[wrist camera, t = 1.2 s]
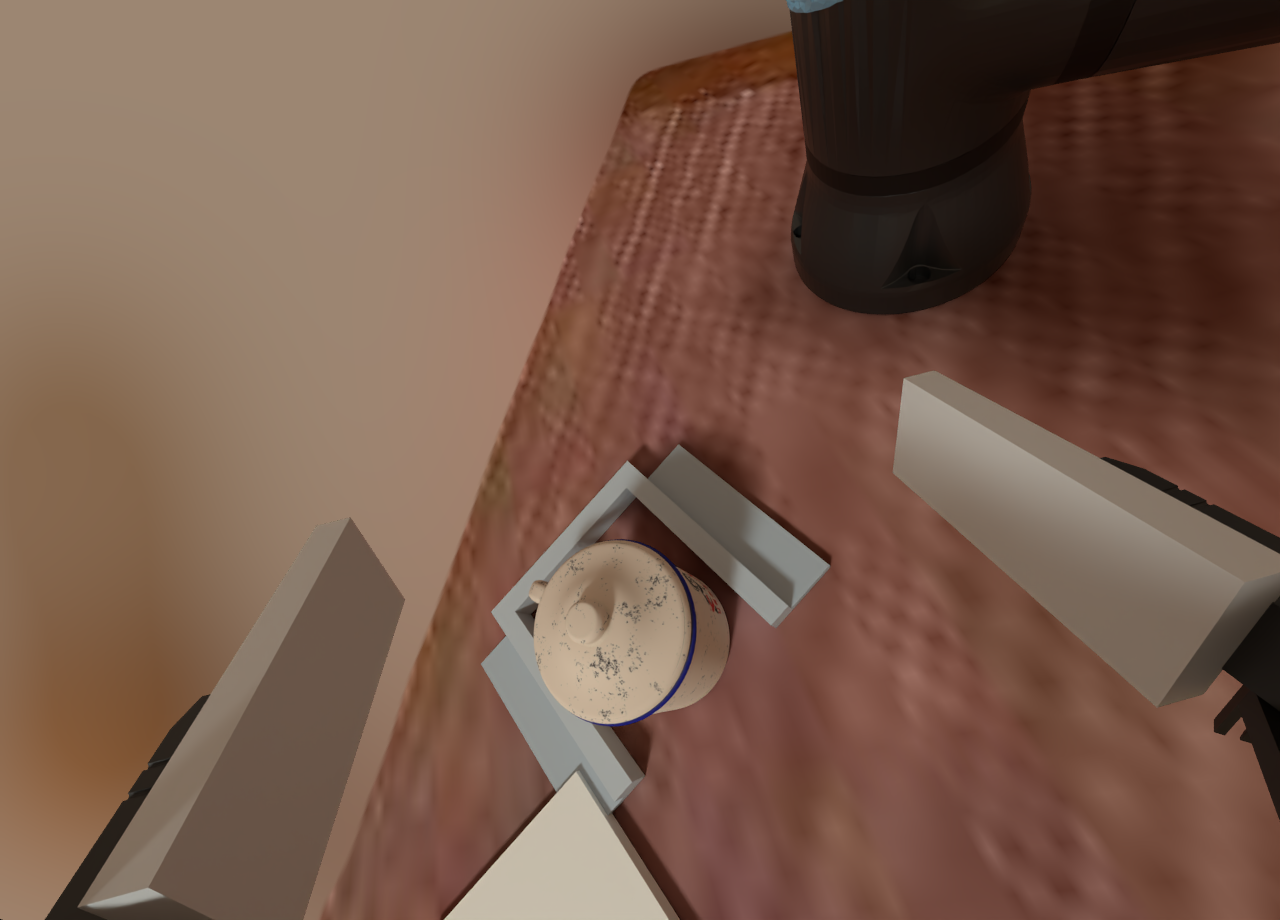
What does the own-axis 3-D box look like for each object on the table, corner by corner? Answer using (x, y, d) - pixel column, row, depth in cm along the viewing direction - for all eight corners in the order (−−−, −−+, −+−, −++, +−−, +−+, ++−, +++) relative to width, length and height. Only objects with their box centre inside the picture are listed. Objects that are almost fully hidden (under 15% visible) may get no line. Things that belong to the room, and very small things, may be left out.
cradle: (667, 437, 38) (658, 425, 36) (830, 567, 30) (828, 560, 28) (477, 648, 38) (459, 647, 36) (590, 838, 30) (573, 848, 28)
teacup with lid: (752, 592, 31) (702, 554, 21) (709, 741, 29) (630, 775, 19) (599, 540, 37) (504, 492, 27) (553, 661, 35) (431, 656, 25)
